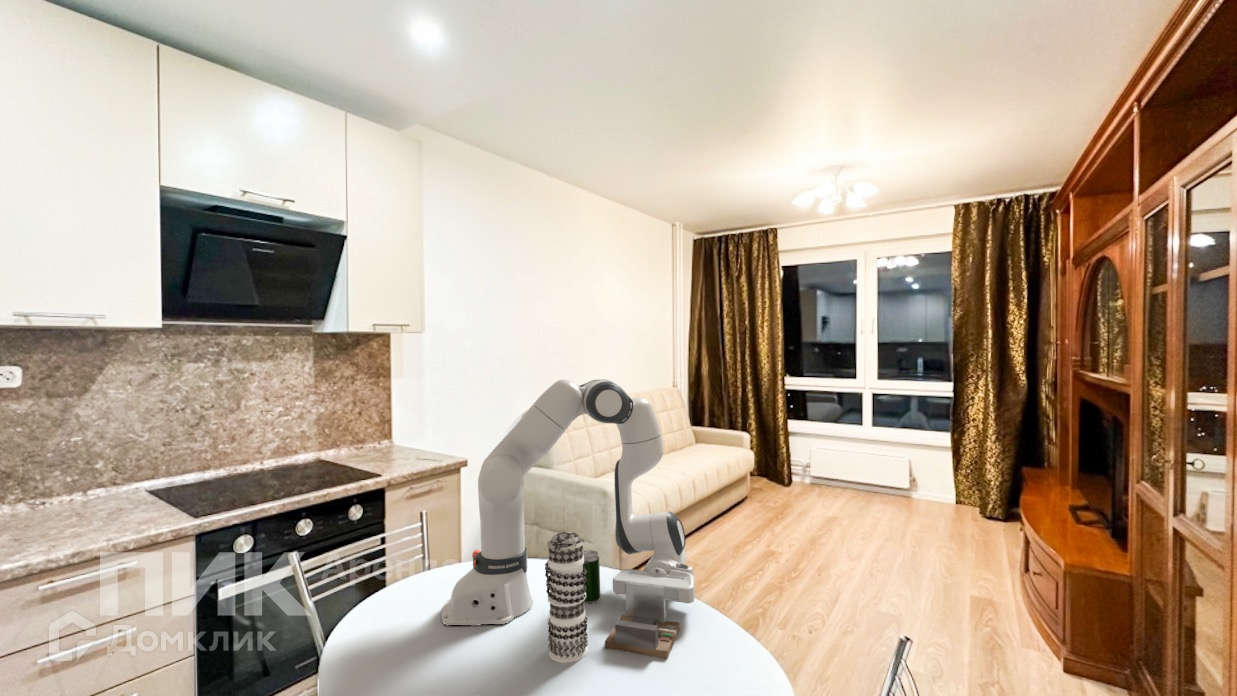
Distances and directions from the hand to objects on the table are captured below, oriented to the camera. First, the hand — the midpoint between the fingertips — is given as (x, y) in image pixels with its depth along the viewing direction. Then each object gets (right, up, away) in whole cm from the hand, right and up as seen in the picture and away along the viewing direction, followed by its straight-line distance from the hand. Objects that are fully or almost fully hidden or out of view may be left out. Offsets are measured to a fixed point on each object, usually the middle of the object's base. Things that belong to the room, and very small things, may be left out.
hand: (645, 600), depth 119 cm
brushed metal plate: (+1, -5, -3) cm, 6 cm away
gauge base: (-1, -7, -3) cm, 8 cm away
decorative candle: (-17, -8, -7) cm, 20 cm away
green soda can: (-14, -8, +16) cm, 22 cm away
